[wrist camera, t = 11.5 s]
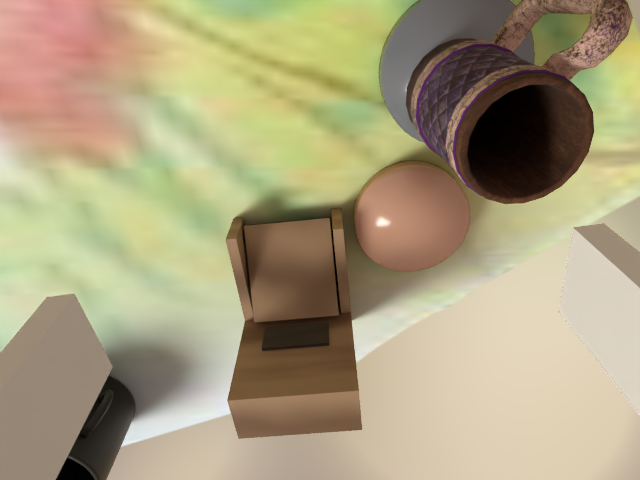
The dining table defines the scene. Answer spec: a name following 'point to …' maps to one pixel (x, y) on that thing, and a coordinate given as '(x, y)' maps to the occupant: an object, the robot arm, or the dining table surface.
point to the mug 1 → (100, 435)
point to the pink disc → (411, 216)
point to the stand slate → (436, 43)
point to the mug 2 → (513, 102)
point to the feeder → (293, 330)
